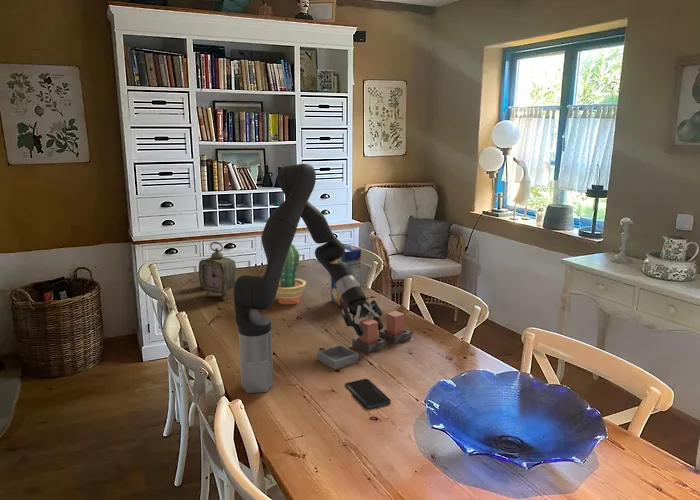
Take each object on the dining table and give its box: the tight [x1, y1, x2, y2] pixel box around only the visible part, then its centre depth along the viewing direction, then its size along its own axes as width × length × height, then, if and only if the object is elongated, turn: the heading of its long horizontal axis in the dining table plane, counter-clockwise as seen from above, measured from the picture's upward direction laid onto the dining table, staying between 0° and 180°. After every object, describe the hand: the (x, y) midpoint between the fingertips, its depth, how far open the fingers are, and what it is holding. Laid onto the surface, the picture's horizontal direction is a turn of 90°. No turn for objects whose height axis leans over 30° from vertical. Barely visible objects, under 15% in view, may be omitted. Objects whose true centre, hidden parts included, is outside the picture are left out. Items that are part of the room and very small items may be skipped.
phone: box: [344, 378, 391, 410], centre depth 151 cm, size 8×1×15 cm
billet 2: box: [385, 310, 405, 336], centre depth 186 cm, size 4×4×9 cm
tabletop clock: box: [198, 241, 238, 301], centre depth 233 cm, size 14×9×25 cm, turn 62°
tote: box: [317, 343, 360, 371], centre depth 172 cm, size 10×10×3 cm
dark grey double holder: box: [348, 328, 416, 357], centre depth 183 cm, size 21×11×4 cm, turn 128°
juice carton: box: [330, 244, 362, 309], centre depth 225 cm, size 12×8×24 cm, turn 32°
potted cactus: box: [276, 244, 307, 305], centre depth 227 cm, size 15×15×25 cm
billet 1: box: [358, 318, 379, 345], centre depth 179 cm, size 4×4×9 cm
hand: (371, 332), depth 177 cm, fingers open, 8 cm apart
